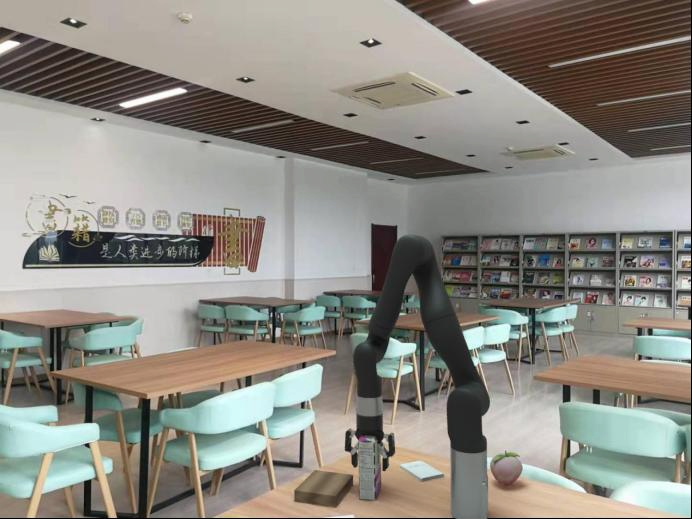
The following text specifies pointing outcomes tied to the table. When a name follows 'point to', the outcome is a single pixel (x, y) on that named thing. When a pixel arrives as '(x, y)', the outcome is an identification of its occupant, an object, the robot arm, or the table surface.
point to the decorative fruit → (506, 467)
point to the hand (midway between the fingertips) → (369, 468)
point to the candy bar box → (369, 468)
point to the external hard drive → (421, 471)
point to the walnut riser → (323, 488)
